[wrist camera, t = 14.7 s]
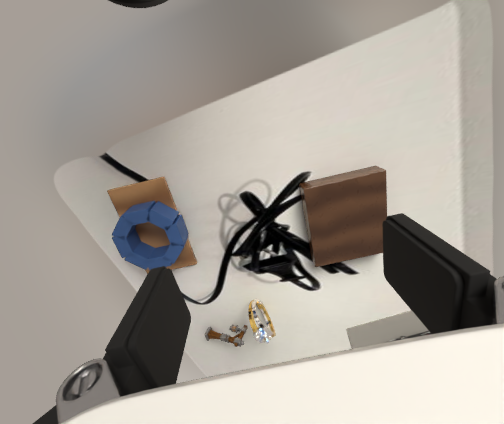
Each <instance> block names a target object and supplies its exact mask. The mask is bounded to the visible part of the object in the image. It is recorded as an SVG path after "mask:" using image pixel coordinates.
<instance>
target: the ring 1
mask: <svg viewBox="0 0 504 424" xmlns="http://www.w3.org/2000/svg"><path fill="white" fill-rule="evenodd" d="M178 214H179V212H178V211H176V210H175V209H173V208H171V207H169V206H167V205H165V204H163V203H161V202H159V201H158V202H157V203H156V202H155V201H150V202H146V203H141V204H137V205H133V206H132V207H130V208H129V209H128V210H127V211H126V212H125V213H124V214H123V215H121V216H120V218H119V221H118V223H117V225H116V227H115V229H114V231H113V233H112V235H113V237H112V239H113V241H114V243H115V245H116V247H117V249H118V251H119V253H120V255H121V257H122V258H124V257H126V258H125V261H128V262H130V263H132V264H134V265H136V266H139V267H141V268H143V269H145V270H147V268H149V270H151V269H153V268H157V267H162V266H165V267H168V266H171V265H172V264H174V263H175V261H176V260H177V258H178V256H179V255H180V253H181V251H182V250H183V248H184V246H185V243H186V241H187V239H188V231H187V228H186V225H185V223H184V220H183V217H182V215H178ZM146 222H150V223H152V224H154V225H156V226H158V227H160V228H162V229H164V230H165V232H166V234H167V237H168V239H169V242H170V245H166V246H161V247H157V248H154V247H152V246H150V245H148V244H146V243H144V242H142V241H141V240H140V238H139V235H138V233H137V231H136V229H135V227H136V225H137V224H141V223H146Z"/></svg>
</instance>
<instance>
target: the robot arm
mask: <svg viewBox="0 0 504 424" xmlns="http://www.w3.org/2000/svg"><path fill="white" fill-rule="evenodd" d="M382 227H383V263H384V276H385V278H386V280H387V281H388V282H389V284H390V285H391V286H392V287H393V288H394V290H395V291H396V292H397V293H398V294H399V296H400V297H401V298H402V299H403V300H404V302H405V303H406V304H407V305H408V306H409V308H410V309H411V310H412V311H413V312H414V314H415V315H416V316H417V317H418V318H419V320H420V321H421V322H422V323H423V324H424V326H425V327H426V328H427V329H428V330H429V332H430V333H431V335H425V336H419V337H414V338H408V339H403V340H398V341H392V342H387V343H382V344H376V345H371V346H366V347H360V348H355V349H350V350H344V351H339V352H334V353H329V354H324V355H318V356H313V357H308V358H303V359H298V360H292V361H287V362H282V363H277V364H272V365H267V366H262V367H256V368H251V369H246V370H241V371H236V372H231V373H226V374H221V375H216V376H211V377H206V378H201V379H196V380H191V381H187V382H182V383H177V384H176V380H177V376H178V372H179V368H180V364H181V360H182V356H183V351H184V347H185V343H186V339H187V335H188V331H189V326H190V322H191V315H190V312H189V310H188V307H187V305H186V303H185V300H184V298H183V296H182V294H181V291H180V289H179V287H178V284H177V282H176V280H175V278H174V275H173V273H172V271H171V269H169V268H168V269H167V268H166V267H165V266H162V267H157V268H153V269H151V270H150V271H149V273H148V275H147V276H146V278H145V280H144V282H143V283H142V285H141V287H140V289H139V291H138V292H137V294H136V296H135V298H134V299H133V301H132V303H131V305H130V307H129V308H128V310H127V312H126V314H125V315H124V317H123V319H122V321H121V323H120V324H119V326H118V328H117V330H116V332H115V333H114V335H113V337H112V338H111V340H110V342H109V344H108V345H107V348H106V349H105V351H106V354H105V356H104V358H103V359H93V360H91V361H88V362H86V363H84V364H83V365H81V366H79V367H78V368H77V369H76V370H74V371H73V372H72V373H71V374H70V375H69V376H68V377H67V378H66V379H65V380H64V382H63V383H62V385H61V386H60V388H59V390H58V392H57V395H56V406H54V407H53V408H52V409H51V410H49V411H48V412H47V413H46V414H45V415H43V416H42V417H41V418H39V419H38V420H37V421H36V422H34V423H33V424H504V276H503V277H499V278H498V279H496V278H495V277H493V276H492V275H490V271H489V270H488V269H486V268H485V267H483V266H482V265H480V264H479V263H477V262H476V261H474V260H473V259H471V258H469V257H468V256H466V255H465V254H463V253H462V252H460V251H459V250H457V249H456V248H454V247H453V246H451V245H450V244H448V243H447V242H445V241H444V240H442V239H441V238H439V237H438V236H436V235H435V234H433V233H432V232H430V231H429V230H427V229H426V228H424V227H423V226H421V225H420V224H418V223H417V222H415V221H414V220H412V219H411V218H409V217H407V216H406V215H404V214H397V215H392V216H388V217H387V218H386V220H385V221H383V224H382Z"/></svg>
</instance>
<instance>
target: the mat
mask: <svg viewBox="0 0 504 424" xmlns="http://www.w3.org/2000/svg"><path fill="white" fill-rule="evenodd" d="M107 192H108V194H109V196H110V198H111V200H112V202H113V204H114V206H115V208H116V210H117V213H118V215H119V217H120V216H121V215H123V214H124V213H125V212H126V211H127V210H128V209H129V208H130V207H132V206H133V205H137V204H141V203H146V202H150V201H155V202H156V203H157V202H158V201H159V202H161V203H163V204H165V205H167V206H169V207H171V208H173V209H175V210H176V211H177V209H176V206H175V203H174V201H173V198H172V196H171V193H170V190H169V188H168V185H167V182H166V180H165V177H160V178H156V179H152V180H148V181H143V182H139V183H135V184H131V185H127V186H123V187H119V188H115V189H110V190H108V191H107ZM178 215H179V214H178ZM135 229H136V231H137V233H138V235H139V238H140V240H141V241H142V242H144V243H146V244H148V245H150V246H152V247H154V248H157V247H161V246H166V245H170V242H169V239H168V237H167V234H166V232H165V230H164V229H162V228H160V227H158V226H156V225H154V224H152V223H150V222H146V223H141V224H137V225H136V227H135ZM195 264H197V261H196V258H195V256H194V253H193V250H192V248H191V245H190V243H189V240H188V239H187V241H186V243H185V246H184V248H183V250H182V251H181V253H180V255H179V256H178V258H177V260H176V261H175V263H174V264H172V265H171V266H168V267H166V268H167V269H168V268H169V269H171V270H172V269H176V268H181V267H186V266H190V265H195ZM149 271H150V270H149V268H147V270H146V272H147V274H148V273H149Z"/></svg>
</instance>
